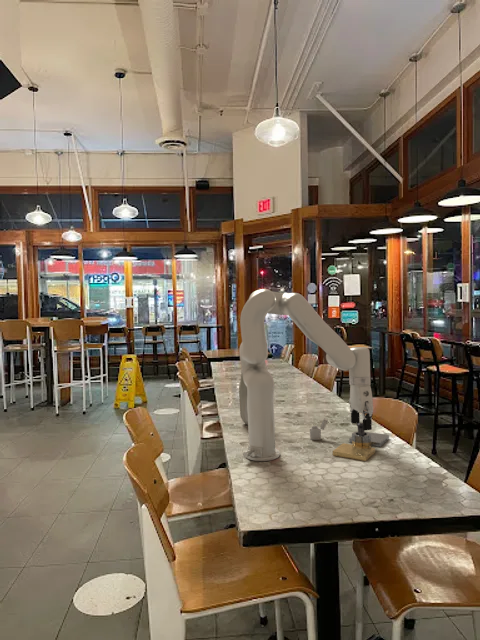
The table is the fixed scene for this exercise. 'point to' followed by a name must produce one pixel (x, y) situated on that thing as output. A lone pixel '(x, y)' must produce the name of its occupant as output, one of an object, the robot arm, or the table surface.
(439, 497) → the table surface
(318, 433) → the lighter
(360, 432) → the dark round-topped peg
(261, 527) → the table surface
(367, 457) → the hinge
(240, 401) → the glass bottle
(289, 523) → the table surface
